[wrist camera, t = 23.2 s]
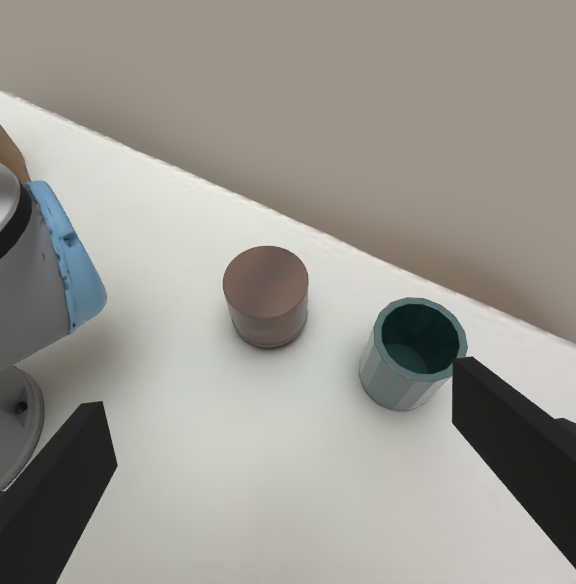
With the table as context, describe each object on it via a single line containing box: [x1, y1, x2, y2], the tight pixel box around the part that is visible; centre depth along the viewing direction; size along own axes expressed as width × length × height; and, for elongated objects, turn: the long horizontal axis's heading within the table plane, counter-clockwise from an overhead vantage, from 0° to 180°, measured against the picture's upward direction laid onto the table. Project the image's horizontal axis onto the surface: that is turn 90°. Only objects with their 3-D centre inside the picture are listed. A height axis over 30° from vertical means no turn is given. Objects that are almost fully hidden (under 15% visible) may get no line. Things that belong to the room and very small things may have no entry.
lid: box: [223, 246, 309, 347], centre depth 44 cm, size 9×9×9 cm
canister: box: [359, 297, 468, 411], centre depth 40 cm, size 8×8×10 cm
